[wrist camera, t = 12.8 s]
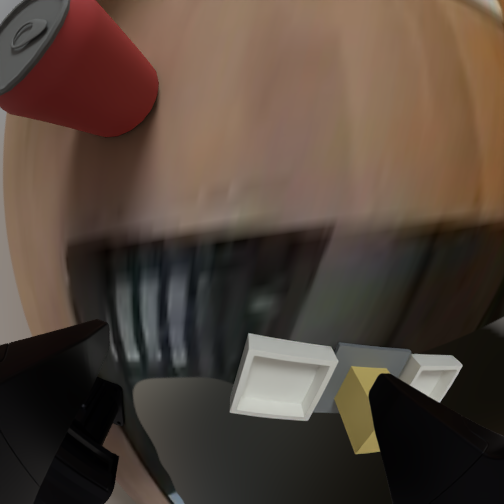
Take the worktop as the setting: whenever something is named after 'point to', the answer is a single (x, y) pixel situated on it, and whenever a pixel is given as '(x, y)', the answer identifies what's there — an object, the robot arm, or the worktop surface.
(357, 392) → the tan carton
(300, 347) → the shallow white dish
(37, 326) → the worktop surface
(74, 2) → the beer can
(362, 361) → the slate coaster
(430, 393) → the white square tray
